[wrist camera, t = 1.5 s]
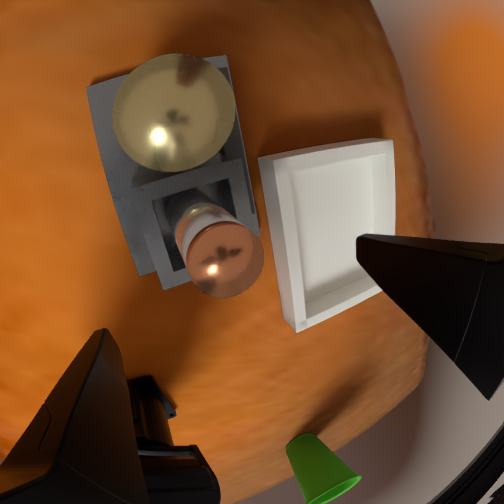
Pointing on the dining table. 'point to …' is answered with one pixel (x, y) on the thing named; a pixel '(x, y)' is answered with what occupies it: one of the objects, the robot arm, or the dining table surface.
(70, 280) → the dining table surface
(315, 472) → the cup
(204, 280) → the pin
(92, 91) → the plate
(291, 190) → the tray
